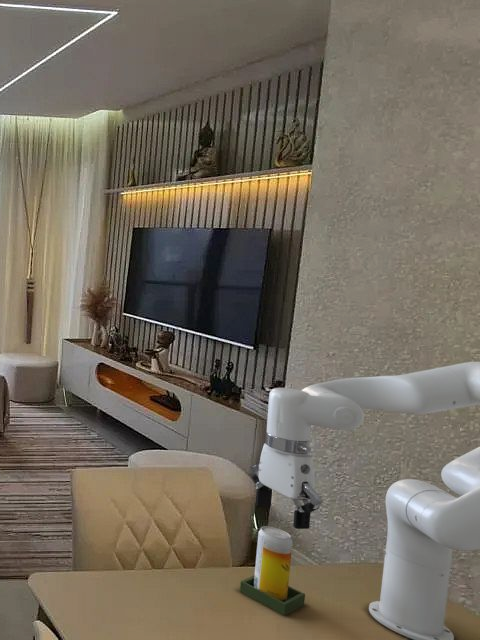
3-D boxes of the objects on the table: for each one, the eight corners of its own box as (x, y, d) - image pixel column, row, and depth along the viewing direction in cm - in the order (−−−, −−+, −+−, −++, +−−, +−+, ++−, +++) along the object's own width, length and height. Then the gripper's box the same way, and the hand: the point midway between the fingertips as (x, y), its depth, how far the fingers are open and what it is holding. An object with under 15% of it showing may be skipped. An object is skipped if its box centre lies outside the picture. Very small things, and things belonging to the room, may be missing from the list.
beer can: (293, 605, 120) (299, 541, 119) (262, 601, 121) (268, 537, 120) (276, 588, 126) (282, 527, 125) (247, 584, 127) (253, 523, 126)
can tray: (259, 582, 129) (260, 572, 129) (304, 604, 121) (305, 593, 121) (239, 591, 125) (240, 581, 125) (284, 615, 117) (285, 604, 117)
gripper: (340, 458, 112) (334, 537, 113) (269, 430, 130) (264, 499, 131) (307, 458, 112) (301, 537, 113) (240, 430, 129) (235, 499, 130)
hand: (281, 516), depth 122 cm, fingers open, 9 cm apart
